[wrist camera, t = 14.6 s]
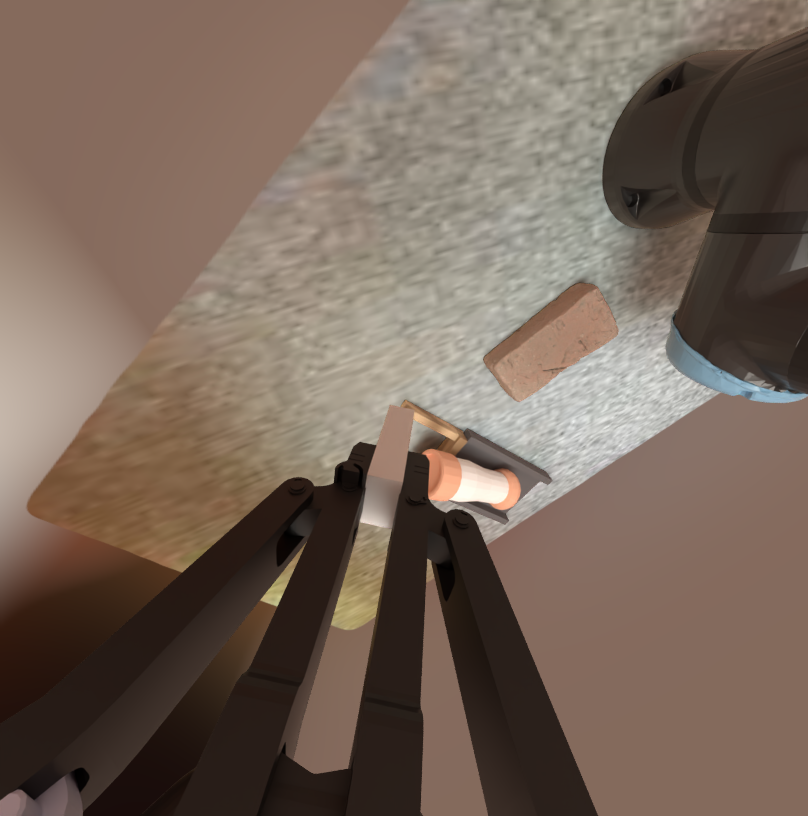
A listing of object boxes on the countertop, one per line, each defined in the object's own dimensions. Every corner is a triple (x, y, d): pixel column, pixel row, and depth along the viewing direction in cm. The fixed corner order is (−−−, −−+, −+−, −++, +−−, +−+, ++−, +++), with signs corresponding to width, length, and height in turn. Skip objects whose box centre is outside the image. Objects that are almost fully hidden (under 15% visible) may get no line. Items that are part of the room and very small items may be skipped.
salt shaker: (435, 438, 47) (517, 462, 57) (408, 467, 51) (489, 484, 61) (449, 480, 42) (537, 498, 52) (419, 508, 46) (506, 520, 56)
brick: (507, 393, 51) (520, 408, 46) (478, 357, 47) (490, 370, 43) (600, 323, 47) (623, 332, 42) (577, 277, 43) (600, 283, 39)
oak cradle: (367, 452, 52) (367, 463, 50) (405, 399, 48) (407, 409, 46) (422, 476, 57) (425, 488, 54) (462, 430, 53) (467, 441, 50)
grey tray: (422, 480, 57) (424, 490, 55) (467, 428, 53) (471, 436, 50) (500, 515, 65) (505, 524, 62) (545, 471, 60) (552, 480, 58)
